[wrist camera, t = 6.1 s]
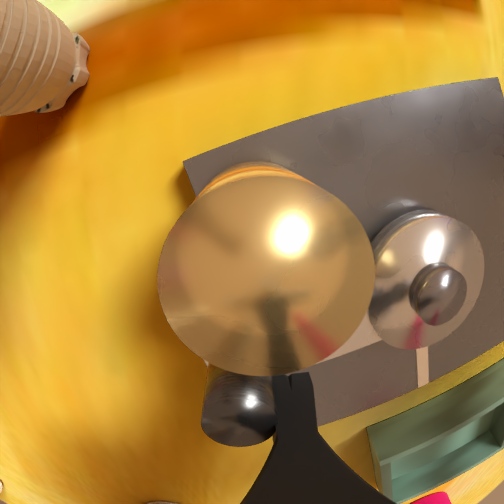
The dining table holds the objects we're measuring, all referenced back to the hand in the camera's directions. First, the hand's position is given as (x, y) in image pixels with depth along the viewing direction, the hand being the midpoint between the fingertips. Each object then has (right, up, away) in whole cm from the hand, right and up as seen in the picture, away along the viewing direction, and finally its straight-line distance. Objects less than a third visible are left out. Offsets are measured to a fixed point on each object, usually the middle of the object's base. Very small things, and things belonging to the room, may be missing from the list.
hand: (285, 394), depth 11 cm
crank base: (+5, +5, +2) cm, 7 cm away
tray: (+11, -7, +6) cm, 14 cm away
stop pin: (-1, +6, 0) cm, 6 cm away
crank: (+2, +3, +1) cm, 4 cm away
